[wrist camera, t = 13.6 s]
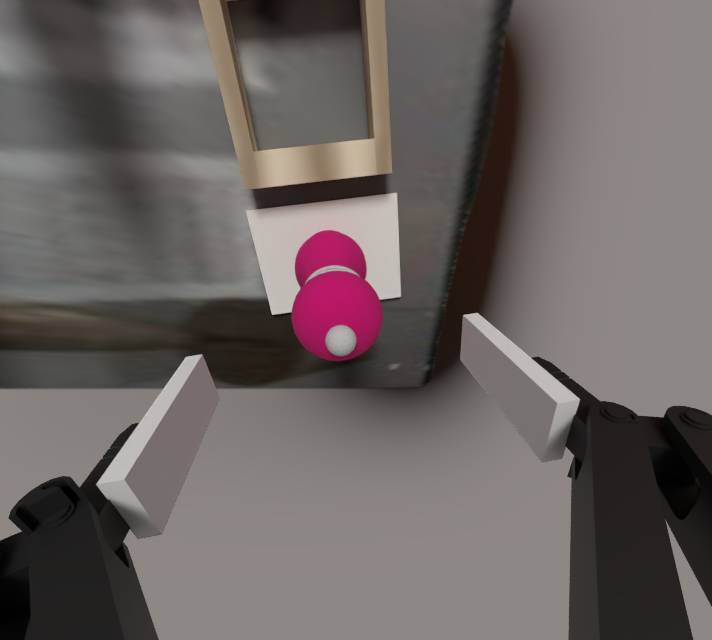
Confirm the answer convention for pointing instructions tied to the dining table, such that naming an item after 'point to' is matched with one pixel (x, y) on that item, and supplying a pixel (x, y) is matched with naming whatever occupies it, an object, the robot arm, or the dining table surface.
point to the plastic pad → (299, 222)
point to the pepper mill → (334, 298)
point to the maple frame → (312, 159)
